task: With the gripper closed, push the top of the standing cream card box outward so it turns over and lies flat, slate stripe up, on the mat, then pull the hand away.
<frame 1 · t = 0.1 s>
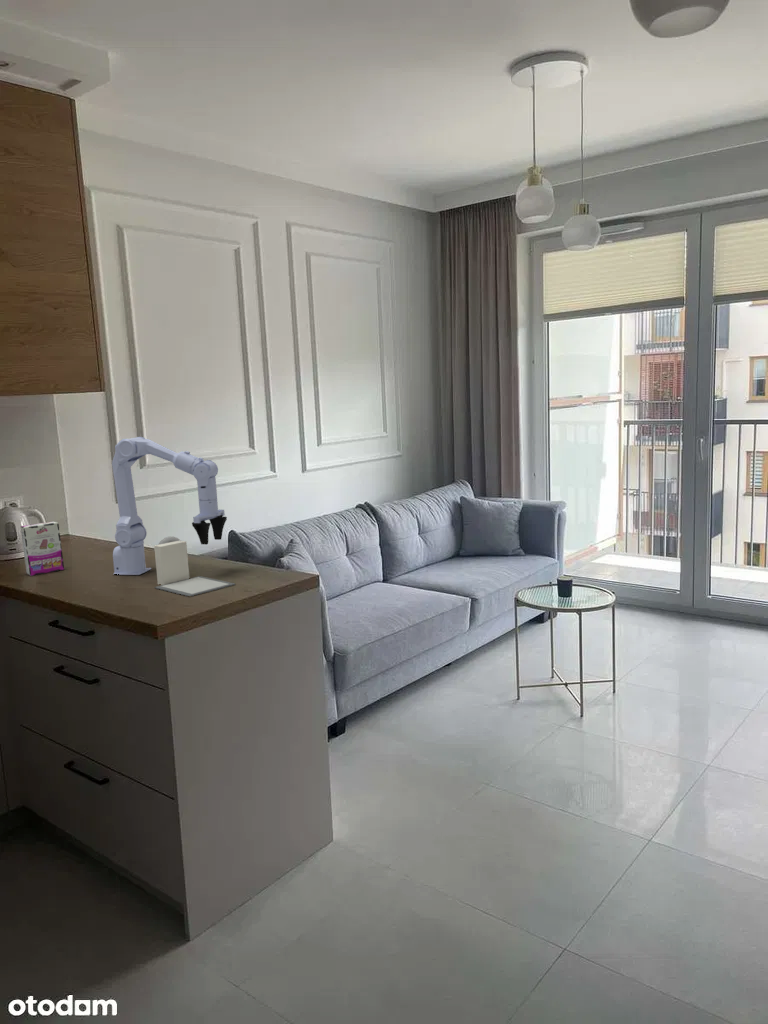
hand: (211, 541, 241), 10 cm above the table, tool pointing down, fingers open, 7 cm apart
card box: (173, 581, 233), on the table
mat: (195, 586, 226), on the table
candy bar box: (45, 572, 255), on the table
donut: (171, 566, 256), on the table
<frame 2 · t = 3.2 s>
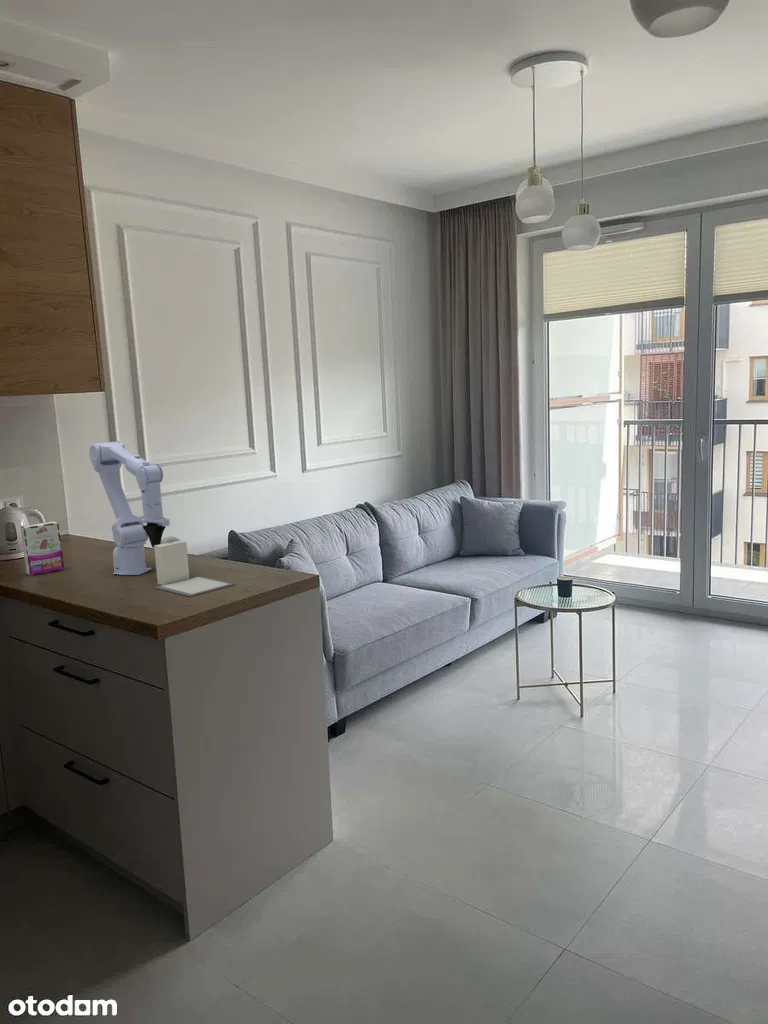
hand: (156, 547, 237), 10 cm above the table, tool pointing down, fingers closed
nothing on the table moved.
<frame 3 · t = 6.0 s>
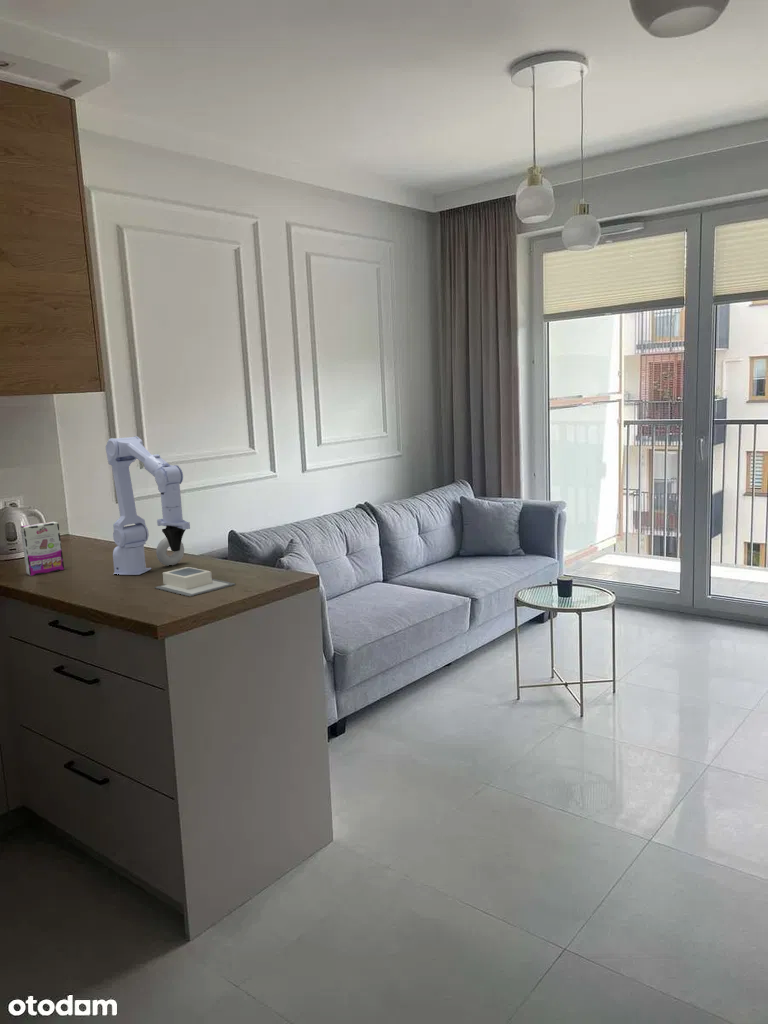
hand: (175, 550, 230), 10 cm above the table, tool pointing down, fingers closed
card box: (176, 575, 232), point 2 cm above the table, tilted 90°, touching mat
everything else where it was.
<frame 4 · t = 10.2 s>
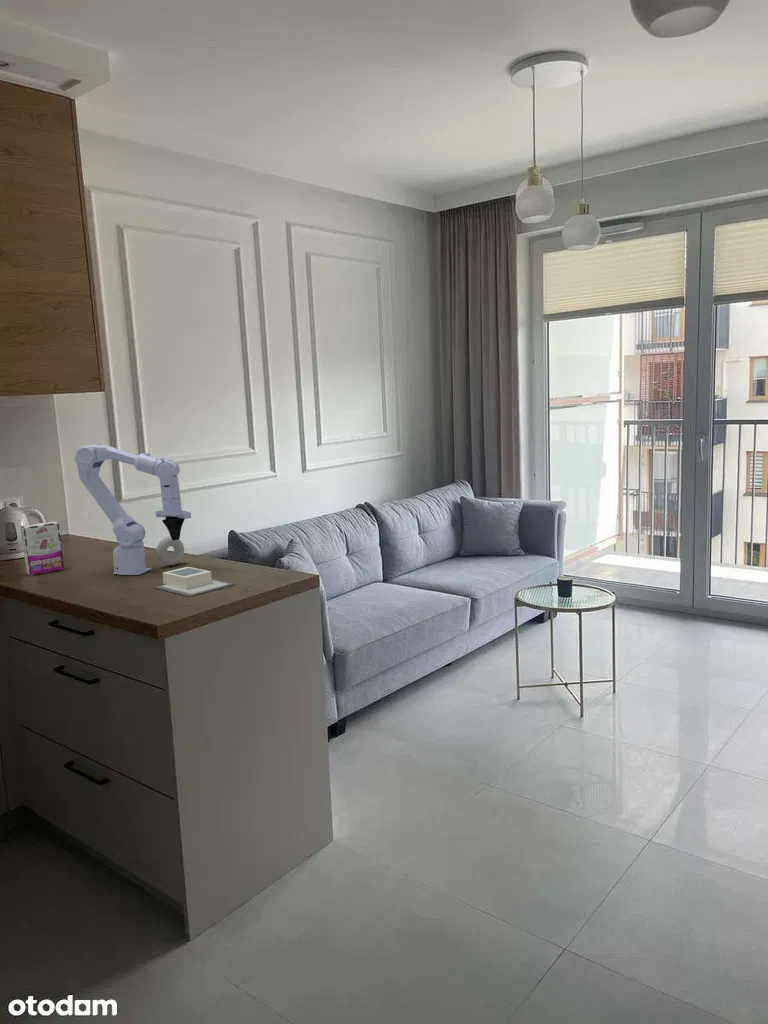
hand: (175, 539, 246), 10 cm above the table, tool pointing down, fingers closed
nothing on the table moved.
at the end: card box tilted 90°; card box touching mat; card box inside the target area (6.9 cm from its centre), point 2.2 cm above the table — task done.
